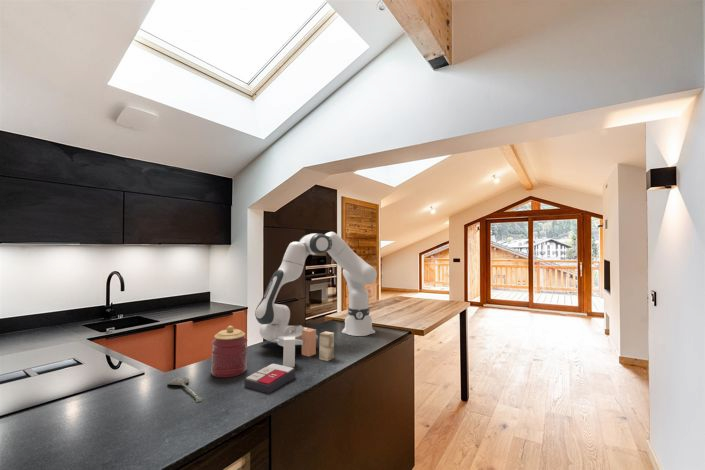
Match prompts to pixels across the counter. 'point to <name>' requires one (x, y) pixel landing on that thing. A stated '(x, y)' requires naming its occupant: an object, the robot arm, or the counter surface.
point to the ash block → (326, 346)
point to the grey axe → (182, 382)
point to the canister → (229, 353)
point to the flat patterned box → (270, 378)
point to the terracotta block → (309, 342)
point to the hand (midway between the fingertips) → (310, 340)
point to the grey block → (289, 351)
